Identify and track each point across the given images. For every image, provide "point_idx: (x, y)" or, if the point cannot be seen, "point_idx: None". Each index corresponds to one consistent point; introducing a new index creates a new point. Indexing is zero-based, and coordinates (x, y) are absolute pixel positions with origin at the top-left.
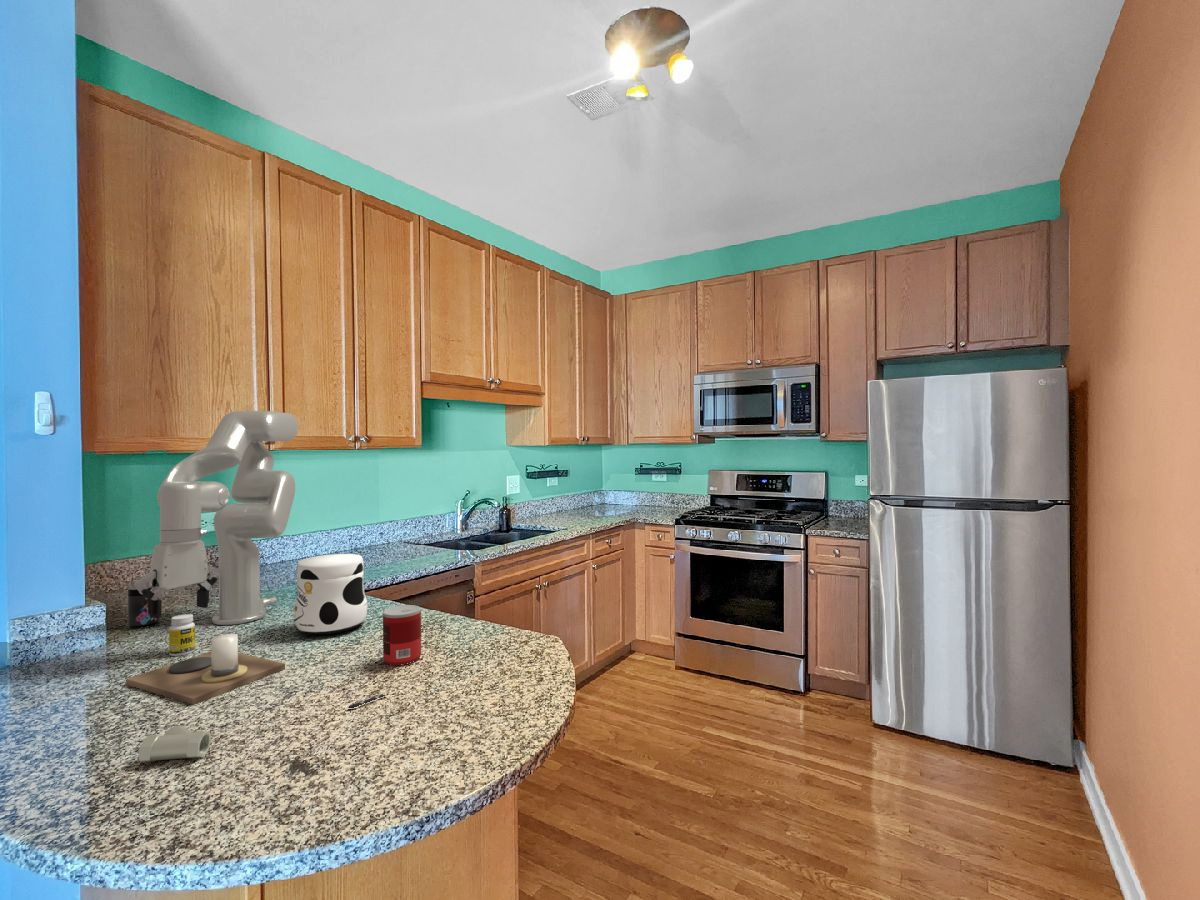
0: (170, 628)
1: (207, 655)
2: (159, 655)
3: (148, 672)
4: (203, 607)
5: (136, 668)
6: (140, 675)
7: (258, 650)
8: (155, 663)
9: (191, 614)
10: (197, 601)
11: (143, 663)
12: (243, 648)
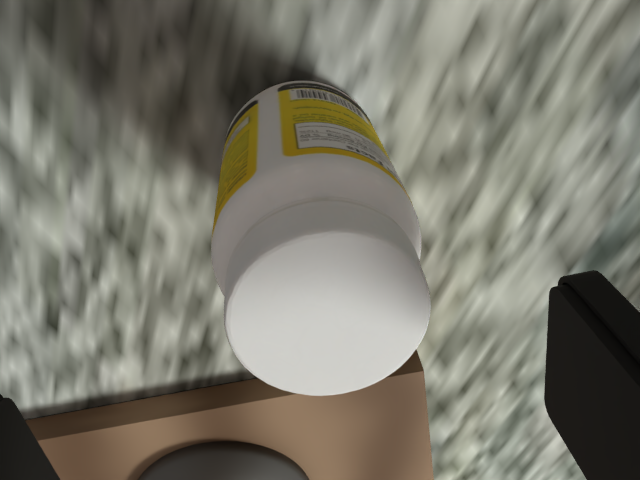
0: (214, 271)
1: (331, 420)
2: (177, 71)
3: (53, 446)
4: (545, 394)
5: (20, 232)
6: None
7: (536, 425)
8: (124, 229)
9: (422, 317)
10: (586, 340)
11: (64, 167)
12: (527, 351)
